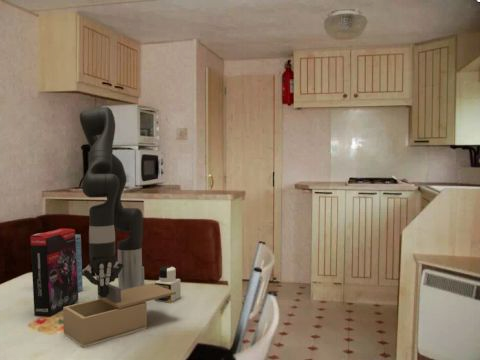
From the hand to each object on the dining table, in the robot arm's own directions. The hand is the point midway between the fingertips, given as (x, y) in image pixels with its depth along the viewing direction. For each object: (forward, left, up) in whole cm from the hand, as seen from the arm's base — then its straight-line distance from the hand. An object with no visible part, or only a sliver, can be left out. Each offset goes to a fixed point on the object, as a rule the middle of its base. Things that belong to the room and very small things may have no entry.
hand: (103, 297), depth 131 cm
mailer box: (-1, 0, -10) cm, 11 cm away
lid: (-11, 0, -2) cm, 12 cm away
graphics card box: (+2, -32, -11) cm, 34 cm away
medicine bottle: (-32, -13, -11) cm, 36 cm away
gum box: (-7, -54, -11) cm, 55 cm away
